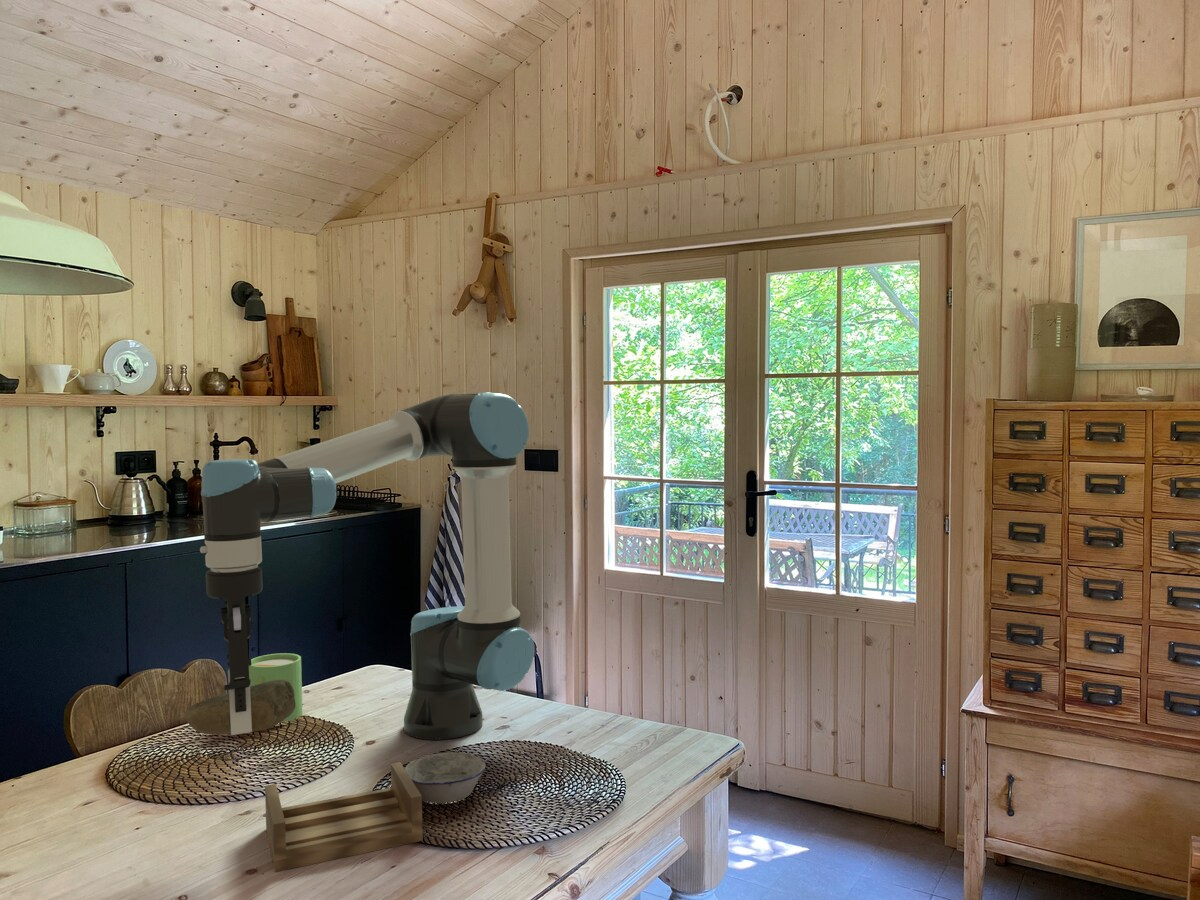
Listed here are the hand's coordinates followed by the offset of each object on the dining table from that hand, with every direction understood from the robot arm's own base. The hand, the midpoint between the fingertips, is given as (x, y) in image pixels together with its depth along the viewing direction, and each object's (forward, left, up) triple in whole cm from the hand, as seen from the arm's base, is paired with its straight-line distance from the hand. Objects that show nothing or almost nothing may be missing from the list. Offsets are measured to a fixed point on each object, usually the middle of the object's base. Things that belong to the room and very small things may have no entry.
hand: (240, 721), depth 130 cm
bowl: (-30, -1, -17) cm, 35 cm away
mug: (-8, -51, -17) cm, 55 cm away
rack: (-13, +6, -17) cm, 22 cm away
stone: (0, 0, -1) cm, 1 cm away
